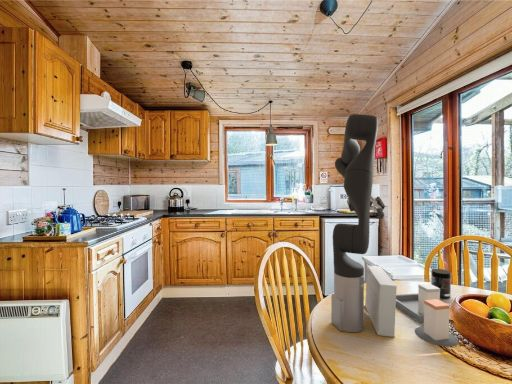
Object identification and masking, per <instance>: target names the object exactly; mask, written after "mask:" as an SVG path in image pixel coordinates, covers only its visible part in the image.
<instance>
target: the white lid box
mask: <svg viewBox="0 0 512 384" xmlns="http://www.w3.org/2000/svg"><path fill="white" fill-rule="evenodd" d="M417 286H418V287H417V288H418V290H417V292H418V293H417V294H418V313H420V314H421V315H424V300H431V299H438V300H440V301H441V298H440V288H438V287H436V286H434V285H431V283H419V284H418V285H417Z"/></svg>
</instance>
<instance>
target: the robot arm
mask: <svg viewBox="0 0 512 384" xmlns="http://www.w3.org/2000/svg"><path fill="white" fill-rule="evenodd" d="M378 119H379V118H378V117H377V116H376V115H370V114H358V113H357V114H356V113H353V114H352V113H351V114H350V115H349V116H348V118H347V120H346V124H345V129H344V135H343V138H344V139H343V148H342V152H341V155H340V156H341V157H338V158H337V159H335V161H334V168H335V169H336V171H337V172H338V174H340V175H341V176H342V178H343V179H344V180H343V189H344V192H345V194H346V196H347V197H348V199H347V201H346V203H347V206H348V209H349V211H350V212H354V213H356V217H357V219H358V224H353V223H352V224H351V223H336V224H335V225H334V227H333V231H332V251H333V254H332V255H333V293H332V294H331V295H330V296H331V297H330V298H331V303H330V304H331V305H330V306H331V311H330V313H331V314H330V315H331V318H330V319H331V323H332V325H334V327H335V328H336V329H338V330H339V332H347V333H359V332H361V331H363V330H364V328H365V327H364V321H365V318H364V317H365V315H364V311H365V309H364V308H365V305H364V301H365V297H364V295H365V287H364V286H365V267H364V265H362V263H360V262H359V261H356V260H354V259H352V258H351V257H350V256H348V254H355V255H365V254H366V253H367V252H368V250H369V246H370V245H369V244H370V217H371V216H370V215H371V214H370V212H371V210H374V211H375V212H376V213H377V216H378V218H379V219H380V220H383V218H385V217H384V216H385V213H384V212H383V211H384V209H385V207H386V205H385V204H384V202H383V200H382V199H381V197H380V196H376V197H373V196H372V193H373V192H372V191H373V181H374V163H375V160H374V159H375V150H376V143H377V138H378V137H377V136H378V131H379V130H378V129H379V120H378ZM358 141H365V144H364V146H363V147H362V149H361V146H360V144H359V143H358ZM347 253H348V254H347Z"/></svg>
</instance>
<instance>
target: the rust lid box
mask: <svg viewBox="0 0 512 384" xmlns="http://www.w3.org/2000/svg"><path fill="white" fill-rule="evenodd" d="M449 309H450V305H449V304H448V303H446V302H444V301H442V300H441V299H440V300H438V299H431V300H424V323H423V326H424V333H426V334H427V335H429V336H430V337H431V338H433V339H434V340H442V339H449V332H450V321H449ZM450 310H451V309H450Z"/></svg>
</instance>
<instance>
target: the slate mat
mask: <svg viewBox="0 0 512 384" xmlns="http://www.w3.org/2000/svg"><path fill="white" fill-rule="evenodd" d="M414 333H415V335H416V336H417V337H418V338H419V339H421V340H422V341H424V342H427V343H429V344H431V345H436V346H438V347H439V346H441V347H447V348H448V347H455V346H457V345H458V344H459V339H458V337H457V336H456V335H454V334H453V333H451V332H450V333H451V334H450V333H449V339H442V340H434V339H433V338H431V337H430V336H429V335H427V334H426V333H424V325H421V326H418V327H416V328H415V329H414Z"/></svg>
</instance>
